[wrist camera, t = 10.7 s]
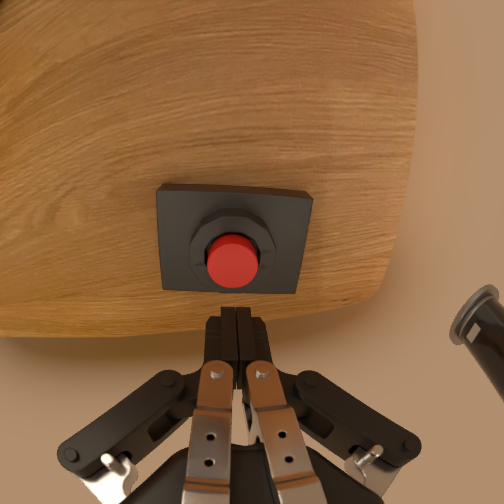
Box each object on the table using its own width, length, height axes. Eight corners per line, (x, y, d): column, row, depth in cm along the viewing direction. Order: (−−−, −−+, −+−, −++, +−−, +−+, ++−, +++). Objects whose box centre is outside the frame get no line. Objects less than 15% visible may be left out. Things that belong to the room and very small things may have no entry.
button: (258, 234, 20) (260, 245, 18) (253, 276, 22) (255, 289, 20) (208, 232, 20) (207, 242, 18) (208, 274, 21) (206, 287, 20)
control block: (305, 191, 22) (320, 205, 19) (290, 281, 26) (299, 306, 23) (162, 183, 21) (149, 197, 17) (166, 276, 25) (158, 302, 22)
